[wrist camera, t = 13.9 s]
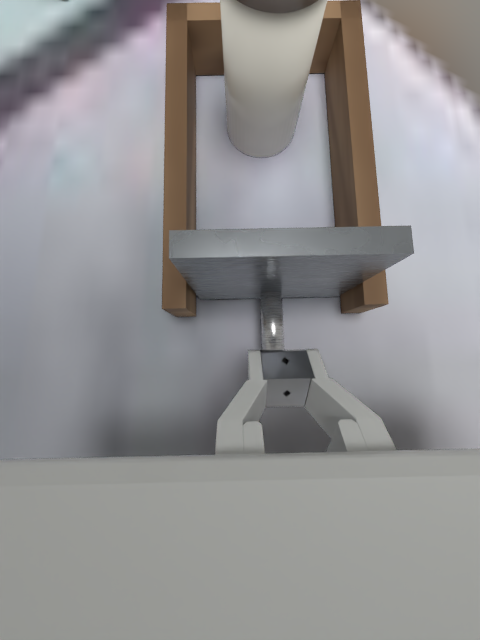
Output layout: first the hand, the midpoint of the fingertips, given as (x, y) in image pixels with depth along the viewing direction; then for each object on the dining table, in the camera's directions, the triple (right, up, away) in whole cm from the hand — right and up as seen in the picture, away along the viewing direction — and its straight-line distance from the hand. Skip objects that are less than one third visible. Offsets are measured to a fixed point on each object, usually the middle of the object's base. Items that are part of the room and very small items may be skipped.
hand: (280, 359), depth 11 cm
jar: (0, +15, +6) cm, 16 cm away
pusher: (0, +2, +4) cm, 5 cm away
